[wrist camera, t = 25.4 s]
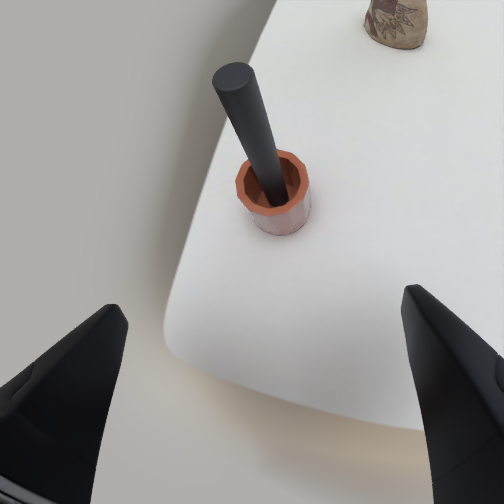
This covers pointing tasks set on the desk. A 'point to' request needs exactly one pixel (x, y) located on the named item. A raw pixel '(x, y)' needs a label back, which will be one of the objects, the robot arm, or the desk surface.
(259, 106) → the dark grey rod
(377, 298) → the desk surface
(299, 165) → the stylus holder
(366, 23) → the figurine
